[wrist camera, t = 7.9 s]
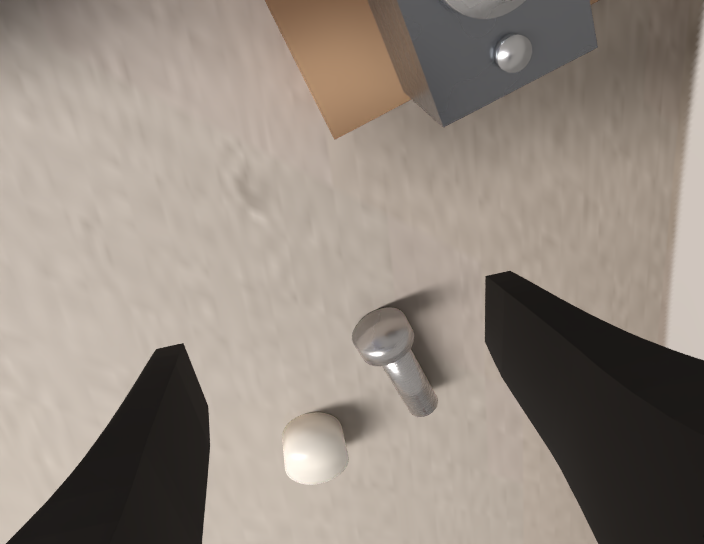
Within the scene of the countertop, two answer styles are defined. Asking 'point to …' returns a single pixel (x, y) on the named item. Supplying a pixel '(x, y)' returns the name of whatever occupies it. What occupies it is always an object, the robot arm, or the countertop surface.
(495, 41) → the housing
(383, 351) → the bolt
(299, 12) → the stand
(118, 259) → the countertop surface
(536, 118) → the countertop surface
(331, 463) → the white rounded knob
